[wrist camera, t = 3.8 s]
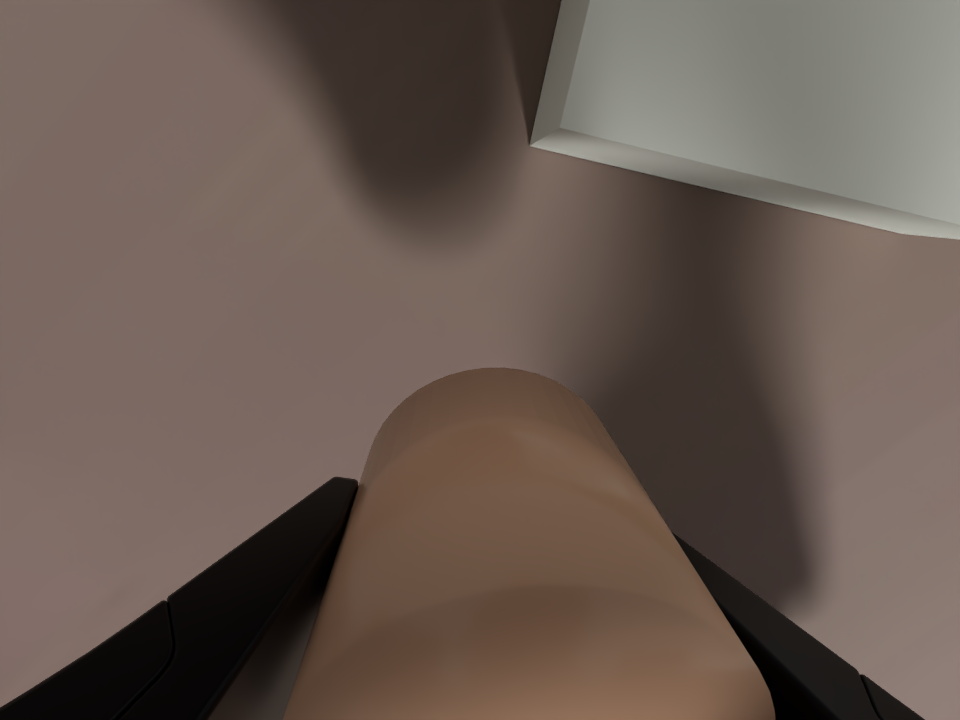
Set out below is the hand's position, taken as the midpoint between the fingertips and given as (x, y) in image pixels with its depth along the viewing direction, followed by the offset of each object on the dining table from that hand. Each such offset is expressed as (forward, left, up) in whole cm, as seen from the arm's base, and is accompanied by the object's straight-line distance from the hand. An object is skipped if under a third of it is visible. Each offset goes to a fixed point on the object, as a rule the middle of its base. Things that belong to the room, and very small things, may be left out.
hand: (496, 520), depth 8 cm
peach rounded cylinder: (0, 0, -1) cm, 1 cm away
